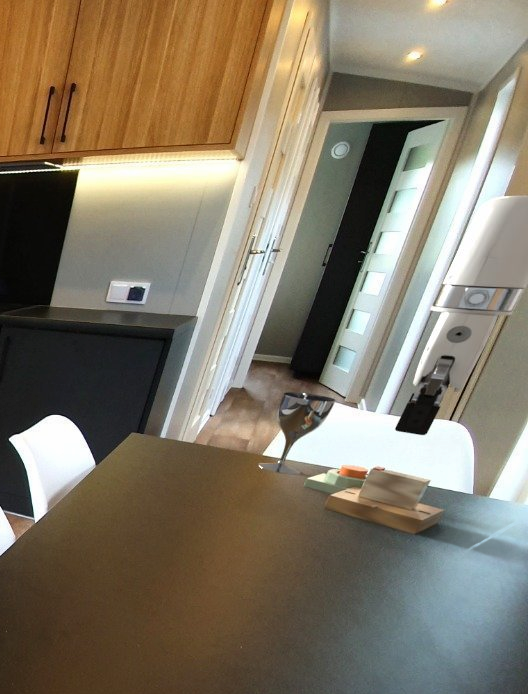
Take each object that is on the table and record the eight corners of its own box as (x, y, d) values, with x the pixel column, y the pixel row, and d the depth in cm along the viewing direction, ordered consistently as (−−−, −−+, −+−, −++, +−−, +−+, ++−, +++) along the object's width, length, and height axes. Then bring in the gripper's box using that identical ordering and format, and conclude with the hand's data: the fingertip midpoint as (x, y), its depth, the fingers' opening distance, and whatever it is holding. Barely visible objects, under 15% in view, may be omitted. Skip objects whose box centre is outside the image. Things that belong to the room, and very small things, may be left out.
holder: (416, 508, 106) (431, 478, 103) (410, 510, 105) (426, 480, 102) (362, 494, 111) (376, 465, 109) (357, 496, 110) (371, 467, 108)
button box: (385, 498, 117) (394, 480, 115) (369, 504, 114) (379, 486, 112) (319, 481, 125) (327, 464, 123) (303, 486, 122) (310, 469, 120)
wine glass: (300, 467, 132) (331, 396, 126) (306, 477, 126) (339, 403, 120) (253, 460, 136) (281, 390, 130) (257, 469, 130) (286, 397, 124)
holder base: (438, 522, 107) (446, 508, 106) (413, 535, 102) (421, 519, 101) (349, 498, 116) (355, 485, 115) (321, 508, 111) (328, 494, 110)
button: (367, 478, 117) (371, 469, 117) (359, 481, 116) (363, 472, 115) (343, 472, 120) (347, 463, 119) (334, 475, 118) (338, 466, 118)
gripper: (519, 306, 76) (447, 444, 83) (515, 301, 87) (451, 423, 94) (431, 301, 81) (370, 431, 88) (437, 296, 92) (382, 413, 99)
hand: (412, 427), depth 91 cm, fingers open, 9 cm apart
